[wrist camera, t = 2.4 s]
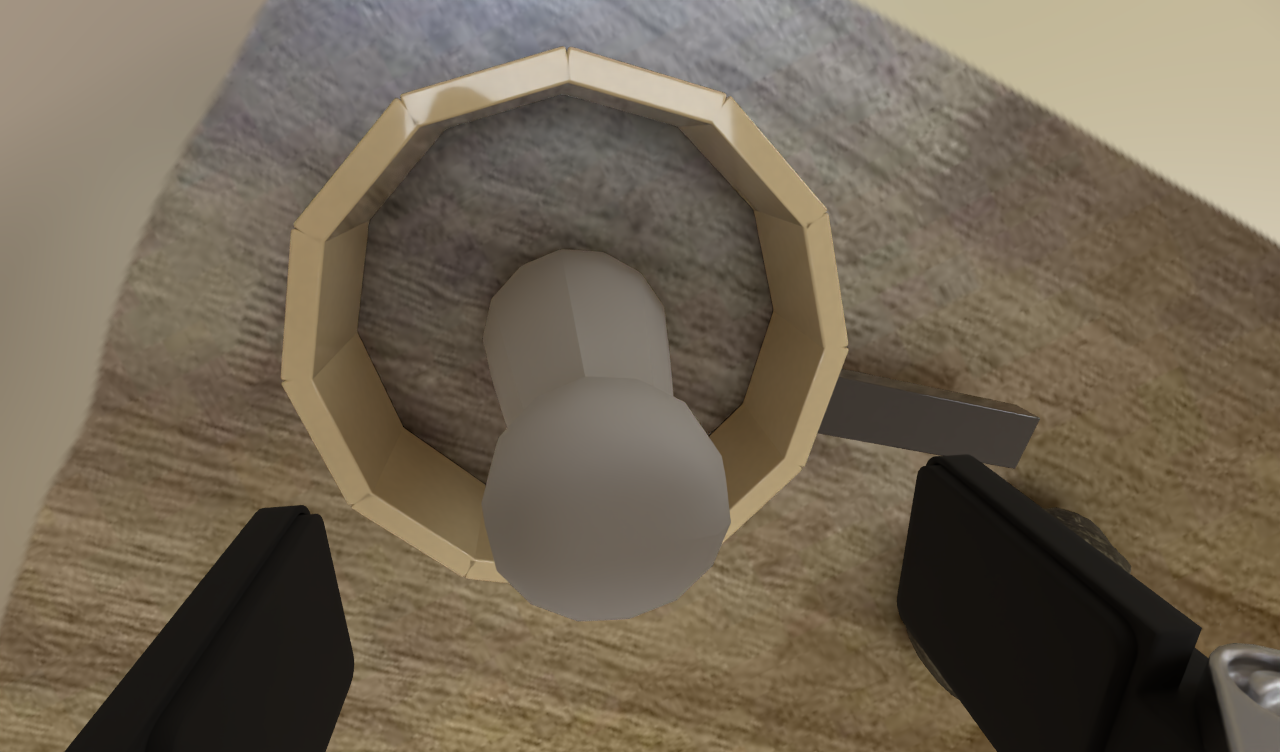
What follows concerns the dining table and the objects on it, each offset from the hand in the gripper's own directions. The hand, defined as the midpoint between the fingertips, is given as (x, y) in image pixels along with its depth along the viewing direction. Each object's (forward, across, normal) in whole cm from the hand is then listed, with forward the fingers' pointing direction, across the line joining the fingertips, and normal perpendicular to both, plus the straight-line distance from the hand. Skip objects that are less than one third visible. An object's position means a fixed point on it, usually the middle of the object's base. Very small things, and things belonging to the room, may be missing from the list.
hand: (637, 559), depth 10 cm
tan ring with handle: (+13, -2, +2) cm, 14 cm away
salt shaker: (+13, +1, 0) cm, 13 cm away
